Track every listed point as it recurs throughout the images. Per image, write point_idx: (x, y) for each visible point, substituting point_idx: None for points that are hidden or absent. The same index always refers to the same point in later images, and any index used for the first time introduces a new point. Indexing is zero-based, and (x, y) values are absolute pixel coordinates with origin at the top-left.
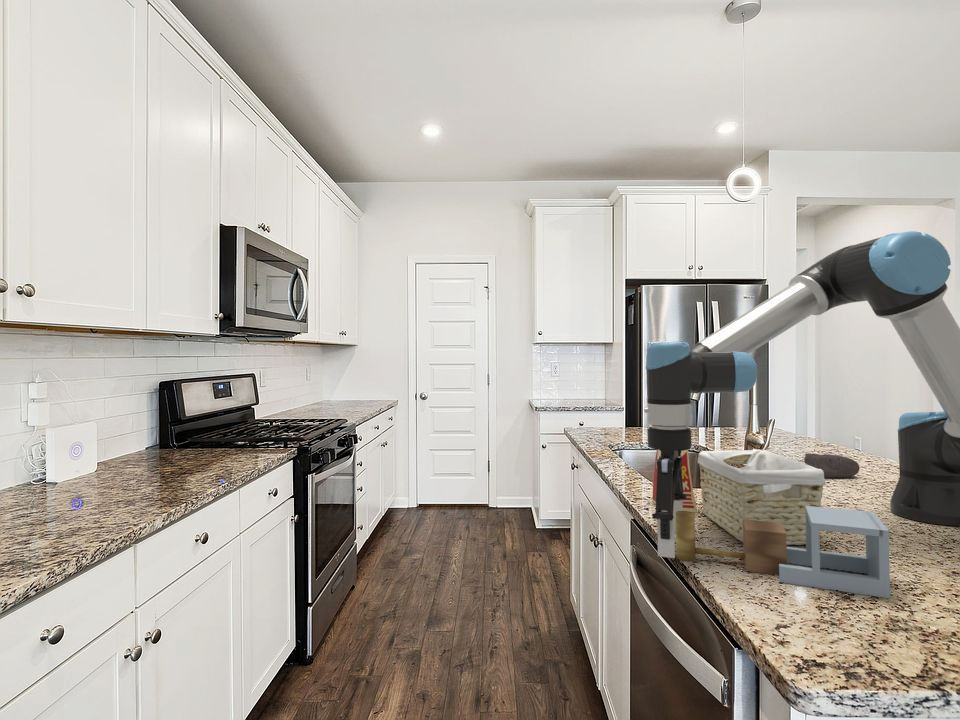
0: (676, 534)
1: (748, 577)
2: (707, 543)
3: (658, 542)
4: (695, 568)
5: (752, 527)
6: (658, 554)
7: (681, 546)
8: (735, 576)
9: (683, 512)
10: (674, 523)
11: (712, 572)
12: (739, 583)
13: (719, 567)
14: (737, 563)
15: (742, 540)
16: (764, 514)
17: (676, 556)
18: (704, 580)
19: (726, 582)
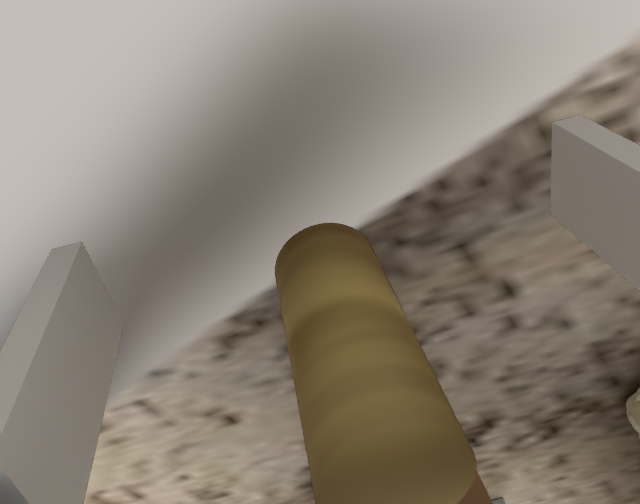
0: (318, 317)
1: (257, 499)
2: (603, 268)
3: (29, 308)
4: (209, 349)
5: None
6: (51, 257)
7: (282, 313)
8: (234, 472)
9: (414, 470)
10: (598, 198)
11: (213, 410)
12: (171, 501)
13: (294, 408)
14: None
15: (635, 402)
16: None
17: (304, 231)
18: None
19: (144, 474)
